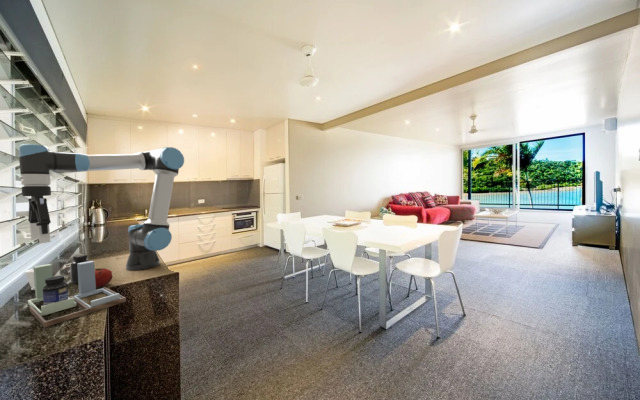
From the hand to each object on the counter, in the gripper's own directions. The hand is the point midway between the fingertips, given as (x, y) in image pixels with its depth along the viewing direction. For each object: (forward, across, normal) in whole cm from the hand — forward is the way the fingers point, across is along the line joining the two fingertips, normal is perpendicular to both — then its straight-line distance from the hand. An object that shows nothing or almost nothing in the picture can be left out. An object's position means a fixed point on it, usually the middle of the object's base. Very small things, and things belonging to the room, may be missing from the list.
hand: (40, 241), depth 100 cm
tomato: (+23, +4, +16) cm, 28 cm away
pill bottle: (+23, +17, 0) cm, 28 cm away
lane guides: (+22, +21, +5) cm, 31 cm away
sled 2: (+22, +20, +10) cm, 32 cm away
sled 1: (+22, +11, 0) cm, 25 cm away
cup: (+23, -20, +2) cm, 30 cm away
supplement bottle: (+23, -12, +14) cm, 29 cm away
